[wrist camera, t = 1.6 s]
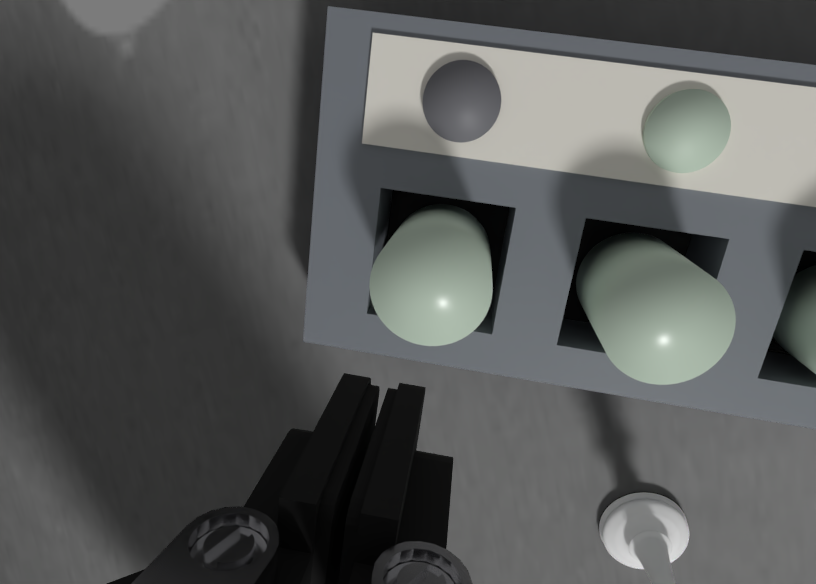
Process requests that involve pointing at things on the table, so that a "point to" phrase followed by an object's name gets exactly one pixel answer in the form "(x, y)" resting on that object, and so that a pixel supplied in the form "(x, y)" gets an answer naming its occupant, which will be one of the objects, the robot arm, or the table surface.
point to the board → (566, 189)
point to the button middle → (654, 309)
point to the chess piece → (645, 533)
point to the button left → (434, 276)
